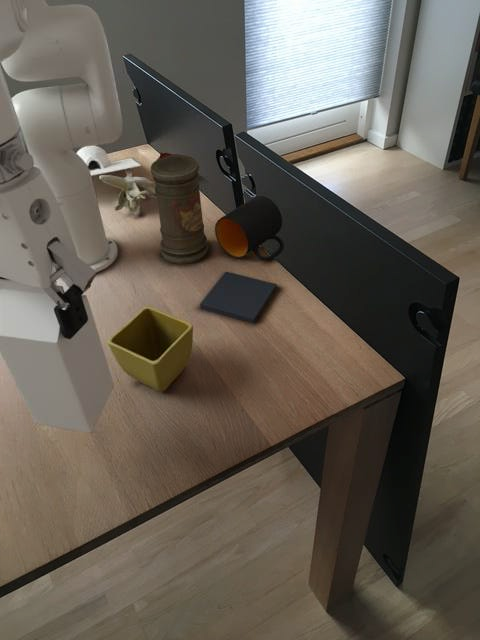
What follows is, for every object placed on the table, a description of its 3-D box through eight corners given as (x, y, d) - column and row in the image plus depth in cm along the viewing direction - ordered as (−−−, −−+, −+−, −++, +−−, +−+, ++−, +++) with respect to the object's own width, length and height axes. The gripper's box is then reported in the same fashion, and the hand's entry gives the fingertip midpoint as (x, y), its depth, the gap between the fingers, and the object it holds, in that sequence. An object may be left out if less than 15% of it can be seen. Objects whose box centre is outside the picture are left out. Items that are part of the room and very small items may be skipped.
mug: (284, 255, 108) (252, 280, 102) (243, 214, 109) (209, 235, 104) (302, 230, 101) (269, 255, 95) (258, 187, 103) (223, 208, 97)
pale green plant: (168, 225, 116) (101, 212, 108) (145, 207, 129) (82, 194, 121) (178, 186, 114) (110, 169, 106) (153, 171, 126) (90, 156, 118)
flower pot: (164, 408, 76) (155, 364, 70) (117, 384, 80) (105, 341, 74) (200, 368, 81) (194, 324, 75) (155, 348, 85) (146, 304, 79)
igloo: (48, 184, 114) (40, 158, 111) (50, 174, 131) (44, 152, 129) (141, 165, 118) (135, 141, 116) (131, 158, 136) (126, 137, 133)
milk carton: (92, 434, 61) (45, 311, 48) (35, 425, 63) (-26, 303, 50) (115, 386, 66) (78, 264, 53) (62, 379, 68) (13, 257, 55)
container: (154, 259, 103) (138, 172, 91) (175, 235, 109) (163, 150, 97) (196, 268, 100) (185, 180, 88) (215, 243, 106) (208, 157, 94)
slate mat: (200, 308, 92) (199, 304, 91) (226, 275, 98) (225, 271, 98) (253, 323, 88) (253, 319, 88) (276, 288, 95) (276, 284, 94)
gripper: (96, 154, 42) (134, 317, 54) (-63, 122, 48) (3, 276, 60) (32, 201, 37) (89, 368, 49) (-137, 159, 43) (-49, 318, 55)
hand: (41, 317), depth 55 cm, fingers closed on milk carton, 8 cm apart
